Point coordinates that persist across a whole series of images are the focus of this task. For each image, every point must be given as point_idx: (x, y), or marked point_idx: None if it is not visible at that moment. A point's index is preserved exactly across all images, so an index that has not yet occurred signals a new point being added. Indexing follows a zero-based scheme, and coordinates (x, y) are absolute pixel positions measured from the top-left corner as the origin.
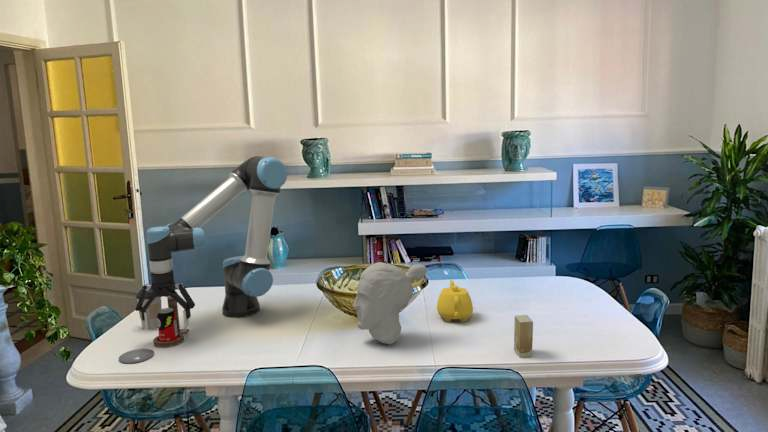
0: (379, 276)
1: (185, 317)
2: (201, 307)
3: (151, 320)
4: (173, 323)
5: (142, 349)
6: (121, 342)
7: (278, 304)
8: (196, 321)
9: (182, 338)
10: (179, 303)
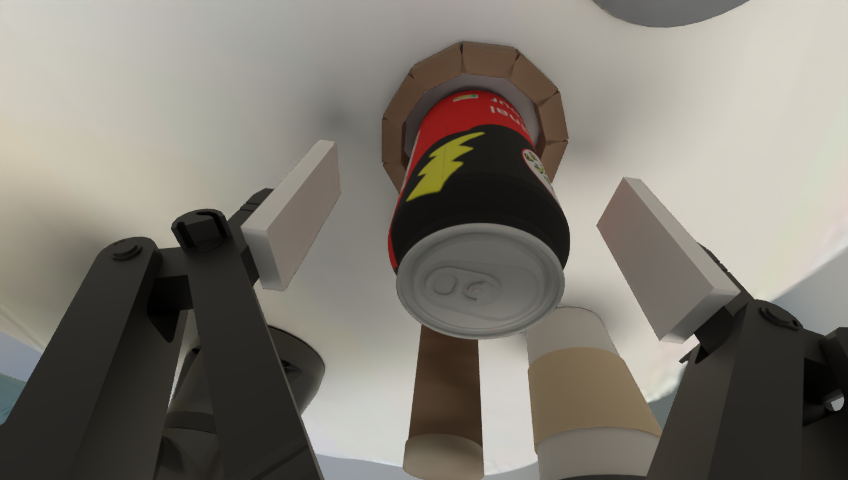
0: None
1: (279, 184)
2: (408, 402)
3: (573, 341)
4: (411, 170)
5: (653, 5)
6: (740, 203)
7: None
8: (393, 327)
9: (382, 129)
10: (251, 318)
